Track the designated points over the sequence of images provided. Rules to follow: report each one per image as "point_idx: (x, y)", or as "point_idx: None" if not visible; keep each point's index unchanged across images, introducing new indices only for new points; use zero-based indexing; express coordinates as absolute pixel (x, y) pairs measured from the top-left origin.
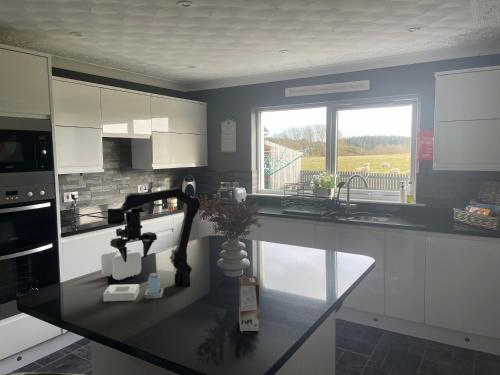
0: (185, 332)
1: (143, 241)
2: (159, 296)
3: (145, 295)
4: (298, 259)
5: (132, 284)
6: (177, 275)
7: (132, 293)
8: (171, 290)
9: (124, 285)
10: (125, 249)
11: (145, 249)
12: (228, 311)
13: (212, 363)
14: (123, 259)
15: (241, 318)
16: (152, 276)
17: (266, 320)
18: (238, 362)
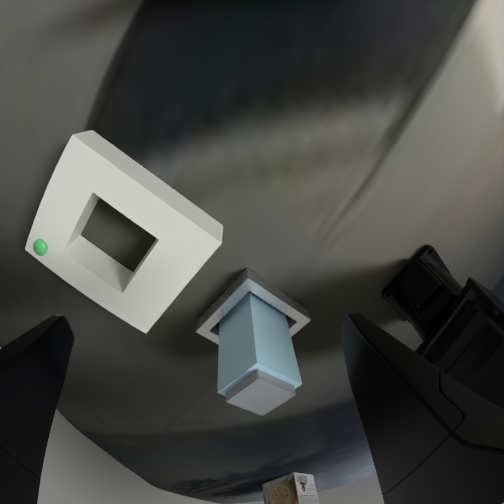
0: (191, 465)
1: (484, 495)
2: None
3: (199, 331)
4: None
5: (185, 219)
6: (418, 314)
7: (137, 327)
8: (339, 313)
9: (137, 201)
10: (24, 498)
11: (380, 429)
12: (313, 454)
13: (181, 491)
14: (37, 334)
15: (265, 502)
16: (240, 403)
17: (321, 476)
18: (207, 497)
